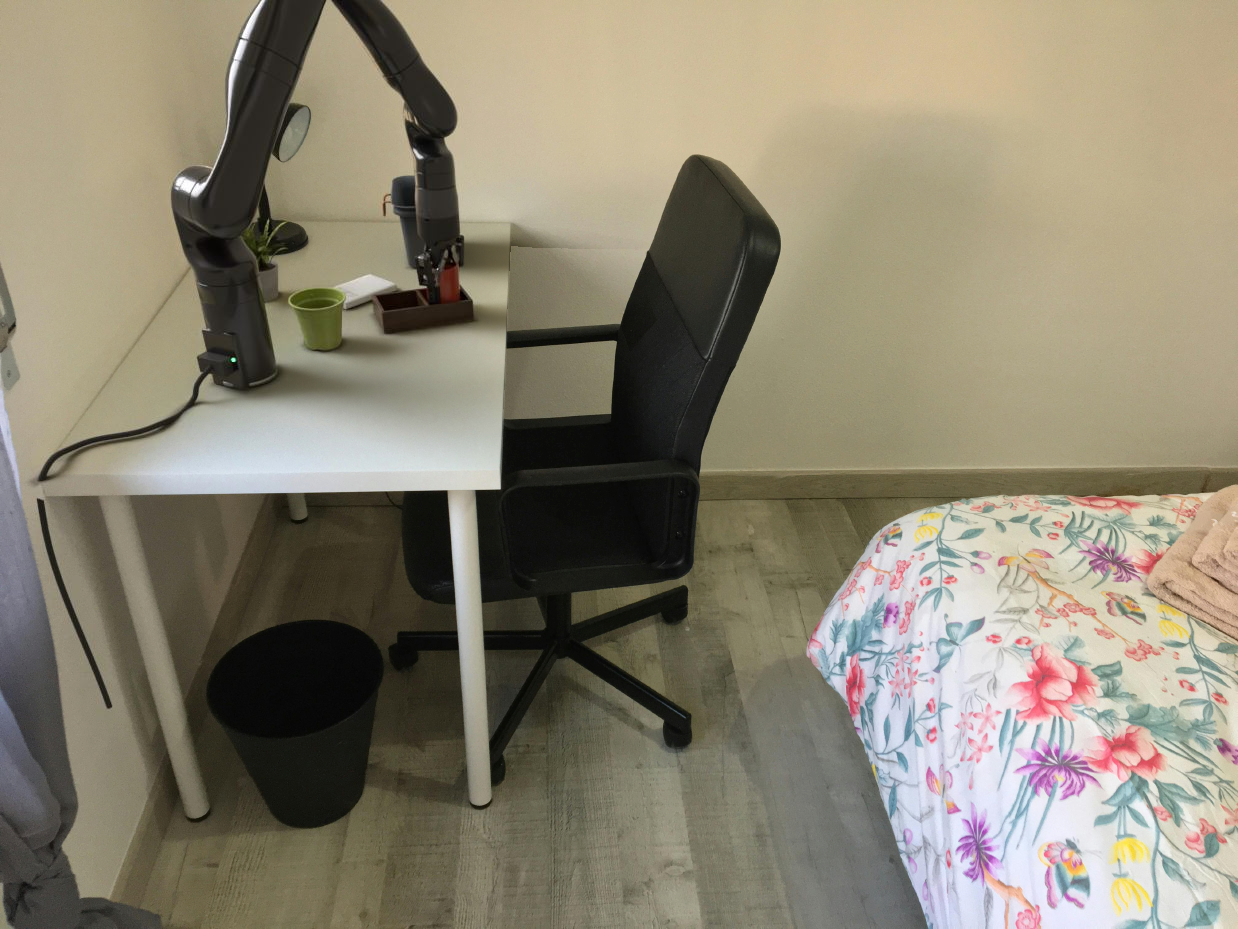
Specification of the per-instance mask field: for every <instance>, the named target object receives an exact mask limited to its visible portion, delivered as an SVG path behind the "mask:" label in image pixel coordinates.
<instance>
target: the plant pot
mask: <svg viewBox="0 0 1238 929" xmlns="http://www.w3.org/2000/svg"><path fill="white" fill-rule="evenodd" d="M345 300H346V295H345V293H344V292H342V291H340V290H338V289H334V288H333V287H325V286H324V287H323V286H322V287H318V286H317V287H309V288H304V289H301V290H298V291H296V292H294V293H293V294H291V295H290V296H289V297H288V305H289V306H290V307H291V308H292V310H293V312H294V313H295V315H296V319H297V321H298V322H297V323H298V325H299V328H300V331H301V334H302V338H303V340H304V345H305V346H306V347H307V348H308V349H310V350H313V351H316V350H321V351H330V350H334V349H337V348H338V347H339V346H340V345H341V343H342V342H343V306H344V302H345Z"/></svg>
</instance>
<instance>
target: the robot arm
mask: <svg viewBox="0 0 1238 929" xmlns="http://www.w3.org/2000/svg"><path fill="white" fill-rule="evenodd" d="M329 1H330V2H331V3H332V5H333V6H334V8H335V9H336V10H337V12H338V13H339V14H340V16H341V17H342V18H343V19H344V21H345V22H346V23H347V25H348V27H349V28H350V29H351V31H352V32H353V33H354V35H355V36H356V38H357V39H358V41H359V43H360V44H361V45H362V48H363V49H364V50H365V52H366V53H367V55H368V56H369V58H370V60H371V61H372V63H373V64H374V66H375V67H376V69H377V70H378V72H379V74H380V75H381V77H382V78H383V81H385V82H386V84H387V85H388V86H389V87H390V88H391V89H392V90H393V91H395V92H396V93H398V95H399V96H400V97H401V98H402V100H403V101H404V102H403V107H402V118H403V125H404V129H405V133H406V137H407V142H408V146H409V149H410V151H411V156H412V160H413V175H414V177H415V206H416V217H417V229H418V235H419V237H420V238H422V239H423V240H424V242H425V247H424V253H423V254H422V255H416V256H415V263H416V268H415V270H416V273H417V281H418V285H419V286H420V287H425V288H427V291H428V301H429V304H430V305H434V304H441V296H440V286H439V283H440V275H442V274H443V270H444V267H445V265H446V264H447V265H451V266H452V267H453V266H454V265H455V262H457V263H458V264H459V272H460V268H463V267H464V266H465V236H464V235H463V234H461V225H460V224H461V222H460V207H459V206H460V205H459V195H458V194H459V193H458V189H457V181H456V166H455V164H456V163H455V158H454V155H453V153H452V152H451V150H450V149H449V148H448V146H447V144H446V139H445V138H448V137H450V136H451V135H452V134H453V133H454V132H455V130H456V128H457V126H458V121H459V116H458V110H457V108H456V104H455V102H454V100H453V99H452V97H451V95H450V94H449V93H448V91H447V90H446V88H445V87H444V86H443V84H442V83H441V82H440V80H439V79H438V78H437V76H436V75H435V74H434V73H433V72H432V71H431V70H430V68H429V67H428V66H427V64H426V62H425V61H424V60H423V58H422V56H421V54H420V52H419V50H418V49H417V47H416V46H415V44H414V42H413V40H412V39H411V37H410V35H409V33H408V32H407V30H406V29H405V27H404V26H403V24H402V23H401V21H400V20H399V19H398V18H397V16H396V15H395V14H394V13H393V12H392V10H391V9H390V8H389V7H388V6H387V5H386V4H385V3H384V1H383V0H329ZM326 3H327V0H258V1H257V2H256V4H255V6H254V7H253V9H252V10H251V11H250V13H249V15H248V16H247V17H246V19H245V20H244V23H243V25H242V26H241V28H240V30H239V33H238V35H237V38H236V39H235V43H234V46H233V49H232V51H231V54H230V57H229V60H228V63H227V66H226V71H225V78H224V79H225V80H224V100H225V103H224V104H225V130H224V134H223V135H224V136H223V139H222V144H221V146H220V149H219V152H218V154H217V156H216V159H215V162H214V164H213V166H212V167H210V166H206V165H200V164H199V165H191V166H188V167H185V168H183V169H182V170H181V171H180V172H178V174H177V175H176V176H175V178H174V179H173V181H172V184H171V188H170V204H171V205H170V207H171V211H172V215H173V220H174V222H175V223H174V224H175V227H176V230H177V234H178V237H179V242H180V245H181V248H182V252H183V254H184V257H185V259H186V261H187V263H188V265H189V266H190V267H191V270H192V273H193V276H194V281H195V285H196V289H197V293H198V298H199V302H200V303H199V304H200V306H201V311H202V316H203V320H204V324H205V327H204V328H202V329H201V333H202V338H203V342H204V347H205V351H203V352H202V353H200V354H198V355H196V360H197V365H198V369H199V372H200V374H199V376H198V377H197V379H196V380H195V382H194V384H193V387H192V395H191V397H190V398H189V400H188V401H187V402H186V404H185V405H184V406H183V407H182V408H181V409H180V410H179V411H178V412H177V413H175V414H173V415H172V416H169V417H166V418H164V419H162V420H159V421H157V422H154V423H152V424H150V425H147V426H144V427H141V428H136V429H132V430H126V431H121V432H115V433H114V432H113V433H108V434H102V435H98V436H93V437H90V438H86V439H83V440H80V441H77V442H75V443H73V444H70V445H68V446H66V447H64V448H62V449H59V450H57V451H56V452H54V453H53V454H51V455H50V457H48V459H47V460H46V461H45V462H44V464H43V466H42V468H41V470H40V472H39V474H38V477H37V480H36V481H37V482H43V481H45V480H46V478H47V475H48V473H49V472H50V469H51V468H52V466H53V464H54V463H55V462H56V461H58V460H59V459H60V458H61V457H63V456H65V455H68V454H69V453H71V452H74V451H76V450H79V449H80V448H84V447H86V446H89V445H93V444H96V443H100V442H106V441H111V440H118V439H122V438H123V439H124V438H130V437H135V436H139V435H142V434H146V433H149V432H151V431H154V430H157V429H159V428H161V427H164V426H166V425H168V424H171V423H173V422H174V421H176V420H178V418H180V417H181V416H182V415H183V414H184V413H185V412H186V411H187V410H189V409H190V408H191V407H193V406H194V404H195V403H196V401H197V400H198V398H199V394H200V387H201V385H202V383H203V382H204V380H205V379H206V378H207V377H208V376H209V375H211V376H212V377H211V378H212V381H213V383H214V384H217V385H221V386H224V387H229V388H233V389H237V390H240V391H246V390H248V389H250V388H253V387H258V386H261V385H264V384H266V383H269V382H271V381H272V380H273V379H275V378H276V377H277V376H278V374H279V368H278V364H277V360H276V356H275V349H274V344H273V340H272V334H271V329H270V324H269V319H268V312H267V308H266V303H265V302H266V301H264V297H263V292H262V286H261V281H260V275H259V269H258V264H257V260H256V257H255V255H254V254H253V253H252V251H251V250H250V249H249V248H248V247H247V245H246V244H245V242H244V241H243V239H242V237H243V236H242V235H244V233H245V232H246V231H247V229H248V228H249V227H250V228H251V227H252V226H251V225H252V223H254V221H255V217H256V215H257V211H258V208H259V204H260V201H261V198H262V193H263V189H264V185H265V180H266V176H267V172H268V168H269V164H270V160H271V157H272V154H273V151H274V148H275V144H276V142H277V140H278V137H279V134H280V131H281V129H282V126H283V122H284V120H285V116H286V114H287V110H288V108H289V106H290V104H291V100H292V99H293V96H294V94H295V91H296V88H297V85H298V83H299V80H300V77H301V74H302V71H303V69H304V66H305V63H306V59H307V57H308V53H309V51H310V48H311V45H312V42H313V40H314V37H315V34H316V31H317V28H318V26H319V23H320V21H321V20H320V19H321V16H322V14H323V11H324V8H325V5H326ZM241 236H242V237H241ZM431 265H432V266H434V267H439V268H438V269H432V267H431ZM433 273H435V279H433ZM36 504H37V510H38V518H39V522H40V523H39V524H40V528H41V534H42V537H43V542H44V547H45V550H46V553H47V558H48V562H49V564H50V567H51V570H52V574H53V576H54V579H55V582H56V585H57V588H58V591H59V594H60V596H61V599H62V601H63V603H64V606H65V609H66V612H67V614H68V616H69V619H70V622H71V623H72V625H73V628H74V630H75V632H76V633H75V634H76V635H77V637H78V640H79V642H80V644H81V647H82V649H83V651H84V654H85V656H86V659H87V661H88V663H89V666H90V668H91V670H92V673H93V675H94V678H95V680H96V683H97V685H98V689H99V691H100V693H101V696H102V699H103V702H104V705H105V707H106V709H107V710H109V709H112V708H113V703H112V701H111V697H110V695H109V693H108V689H107V687H106V684H105V682H104V678H103V677H102V673H101V672H100V669H99V666H98V663H97V661H96V658H95V656H94V654H93V652H92V650H91V647H90V645H89V643H88V639H87V638H86V635H85V633H84V630H83V627H82V625H81V623H80V621H79V618H78V616H77V614H76V610H75V609H74V606H73V603H72V600H71V599H70V598H71V597H70V596H69V593H68V590H67V588H66V585H65V582H64V580H63V577H62V573H61V570H60V567H59V564H58V561H57V557H56V554H55V550H54V547H53V546H54V545H53V542H52V538H51V533H50V529H49V528H50V527H49V522H48V517H47V510H46V505H45V500H44V499H42V498H38V497H37V498H36Z"/></svg>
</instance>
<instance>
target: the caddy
mask: <svg viewBox="0 0 1238 929" xmlns="http://www.w3.org/2000/svg"><path fill="white" fill-rule="evenodd" d="M460 296H461V301H456V302H449V303H441V304H434V305H429V304H428V297H427V287H422V288H415V289H407V290H400V291H394V292H391V293H383V294H375V295H372V300H371V301H372V309H373V315H374V317H375V320H376V321H377V323H378V325H379V326H380V328H381V330H382V332H383V333H384V334H392V333H397V332H398V333H399V332H405V331H406V332H407V331H410V330H412V331H413V330H419V329H425V328H426V329H427V328H433V327H441V326H446V325H453V324H460V323H467V322H472V321H475V315H474V314H475V313H474V299H472V297H471V296H470V295H469V293H468V292H467V291H466V290H465V288H464V287H463V286H462V285H461V284H460Z"/></svg>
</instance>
